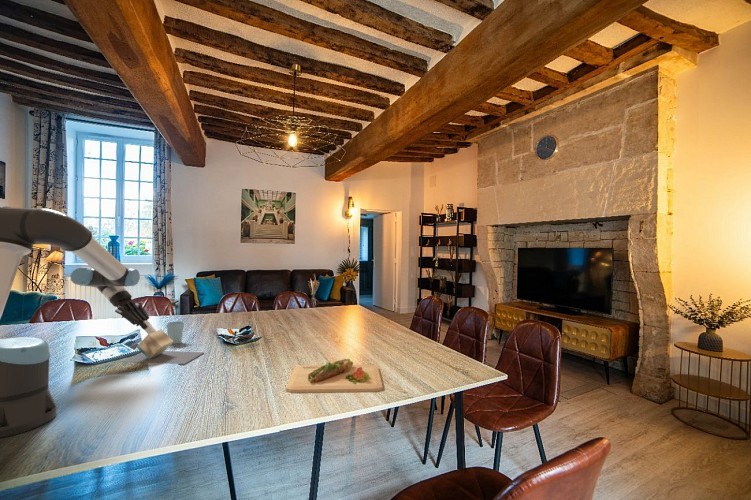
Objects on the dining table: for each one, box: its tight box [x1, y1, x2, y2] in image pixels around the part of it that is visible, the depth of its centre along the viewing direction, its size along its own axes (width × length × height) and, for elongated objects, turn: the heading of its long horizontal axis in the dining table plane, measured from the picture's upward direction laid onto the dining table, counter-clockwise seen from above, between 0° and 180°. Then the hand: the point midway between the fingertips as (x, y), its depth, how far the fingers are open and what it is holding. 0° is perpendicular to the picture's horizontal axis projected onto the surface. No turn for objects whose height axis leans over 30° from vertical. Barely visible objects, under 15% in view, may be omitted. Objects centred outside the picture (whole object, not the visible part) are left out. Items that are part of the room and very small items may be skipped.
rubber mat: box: [120, 350, 205, 366], centre depth 143 cm, size 28×15×1 cm, turn 88°
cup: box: [166, 320, 185, 345], centre depth 165 cm, size 8×8×10 cm
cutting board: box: [285, 358, 384, 393], centre depth 125 cm, size 35×23×8 cm
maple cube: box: [136, 329, 173, 359], centre depth 143 cm, size 8×8×8 cm
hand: (152, 333), depth 143 cm, fingers closed
